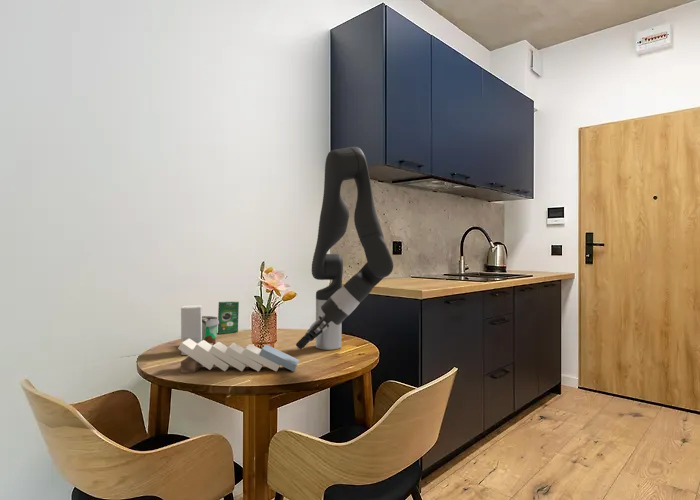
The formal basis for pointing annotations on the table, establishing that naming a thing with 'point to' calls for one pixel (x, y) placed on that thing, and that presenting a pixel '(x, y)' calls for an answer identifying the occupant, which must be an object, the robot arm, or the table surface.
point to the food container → (209, 329)
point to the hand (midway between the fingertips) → (298, 346)
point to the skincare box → (191, 323)
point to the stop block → (190, 365)
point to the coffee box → (228, 317)
